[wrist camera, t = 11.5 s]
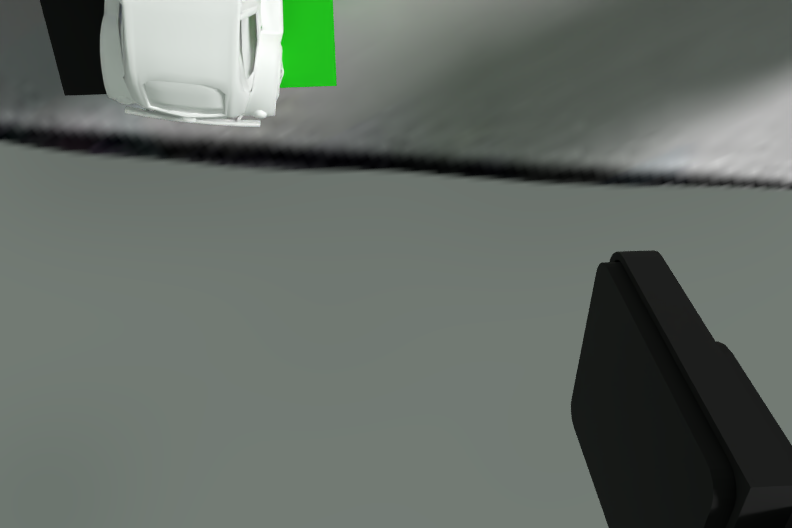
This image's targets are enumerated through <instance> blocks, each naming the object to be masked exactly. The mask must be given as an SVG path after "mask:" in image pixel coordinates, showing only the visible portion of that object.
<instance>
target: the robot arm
mask: <svg viewBox="0 0 792 528" xmlns="http://www.w3.org/2000/svg"><path fill="white" fill-rule="evenodd" d="M571 415H572V422H573V425H574V429H575V431H576V435H577V437H578V440H579V443H580V446H581V449H582V452H583V455H584V457H585V460H586V463H587V466H588V469H589V472H590V475H591V478H592V481H593V483H594V486H595V489H596V492H597V495H598V498H599V500H600V504H601V506H602V509H603V512H604V515H605V518H606V521H607V524H608V526H609V528H792V445H791V444H790V442H789V440H788V439H787V437H786V436H785V434H784V433H783V431H782V430H781V428H780V427H779V425H778V423H777V422H776V420H775V419H774V417H773V416H772V414H771V413H770V411H769V409H768V408H767V406H766V405H765V403H764V402H763V400H762V399H761V397H760V395H759V394H758V392H757V391H756V389H755V388H754V386H753V385H752V383H751V381H750V380H749V378H748V377H747V375H746V374H745V372H744V371H743V369H742V368H741V366H740V364H739V363H738V361H737V360H736V358H735V357H734V355H733V353H732V352H731V351H730V350H729V349H728V348H727V347H726V345H724V344H722V343H720V342H715V340H714V338H713V337H712V335H711V334H710V332H709V331H708V329H707V327H706V326H705V324H704V323H703V321H702V319H701V318H700V316H699V314H698V313H697V311H696V310H695V308H694V306H693V305H692V303H691V302H690V300H689V299H688V297H687V296H686V294H685V292H684V291H683V289H682V287H681V286H680V284H679V283H678V281H677V279H676V278H675V276H674V275H673V273H672V271H671V270H670V268H669V267H668V265H667V264H666V262H665V261H664V259H663V257H662V256H661V255H660V253H659V252H657V251H625V252H615V253H614V254H613V255H612V257H611V259H610V262H608V263H600V264H599V266H598V268H597V272H596V277H595V282H594V287H593V292H592V297H591V302H590V308H589V314H588V318H587V323H586V328H585V333H584V338H583V344H582V349H581V354H580V359H579V364H578V369H577V374H576V379H575V385H574V390H573V396H572V401H571Z"/></svg>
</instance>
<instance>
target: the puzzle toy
mask: <svg viewBox="0 0 792 528" xmlns="http://www.w3.org/2000/svg"><path fill="white" fill-rule="evenodd" d="M40 2H41V6H42V10H43V14H44V18H45V21H46V25H47V29H48V33H49V37H50V40H51V44H52V48H53V52H54V56H55V59H56V63H57V67H58V71H59V75H60V78H61V82H62V86H63V90H64V94H65V95H93V94H107V93H106V90H105V86H104V81H103V75H102V69H101V58H100V32H101V25H102V20H103V16H104V3H105V0H40ZM261 28H262V27H261ZM281 46H282V63H283V68H284V75H283V77H282V80H281V83H280V88H286V87H313V86H337V85H336V63H335V42H334V20H333V0H283V35H282V39H281ZM281 66H282V65H281Z"/></svg>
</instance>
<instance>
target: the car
mask: <svg viewBox="0 0 792 528" xmlns="http://www.w3.org/2000/svg"><path fill="white" fill-rule="evenodd" d="M261 27H262V28H261ZM282 35H283V0H105V3H104V16H103V20H102V25H101V32H100V58H101V69H102V75H103V81H104V86H105V90H106V93H107V95H108V97H109V98H111V99H113V100H117V101H118V102H119V103H120V104H126V105H131V104H138V105H140V106H141V107H143V108H145V109H146V110H143V109H138V108H132V107H127V106H126V109H125V113H127V114H133V115H138V116H144V117H149V118H156V119H163V120H169V121H178V122H187V123H197V124H208V125H220V126H247V127H260V122H261V120H240V119H241V118H242V117H243V115H245V116H254V117H255V118H265V117H268V116H275V110H276V100H277V99H278V97H279V90H280V83H281V80H282V77H283V75H284V68H283V63H282V46H281V39H282ZM281 65H282V66H281ZM149 110H154V111H149ZM155 111H156V112H155ZM237 116H238V118H237V120H233V119H226V118H235V117H237Z"/></svg>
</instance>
